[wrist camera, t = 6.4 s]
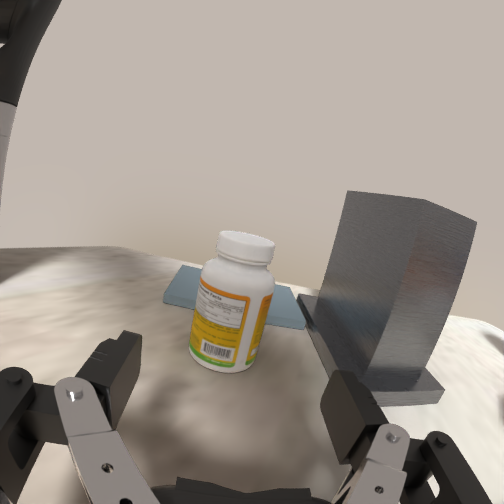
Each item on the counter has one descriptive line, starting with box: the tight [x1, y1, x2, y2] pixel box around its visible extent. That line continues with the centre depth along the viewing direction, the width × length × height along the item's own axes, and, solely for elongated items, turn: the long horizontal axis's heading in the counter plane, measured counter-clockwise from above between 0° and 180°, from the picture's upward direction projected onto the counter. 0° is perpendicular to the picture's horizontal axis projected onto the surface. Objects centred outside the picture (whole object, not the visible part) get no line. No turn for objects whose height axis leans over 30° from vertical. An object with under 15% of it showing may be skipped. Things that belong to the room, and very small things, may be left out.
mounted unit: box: [296, 191, 477, 406], centre depth 28 cm, size 10×20×16 cm, turn 3°
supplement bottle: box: [189, 231, 275, 373], centre depth 22 cm, size 5×5×10 cm
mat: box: [163, 265, 306, 330], centre depth 36 cm, size 15×11×1 cm
